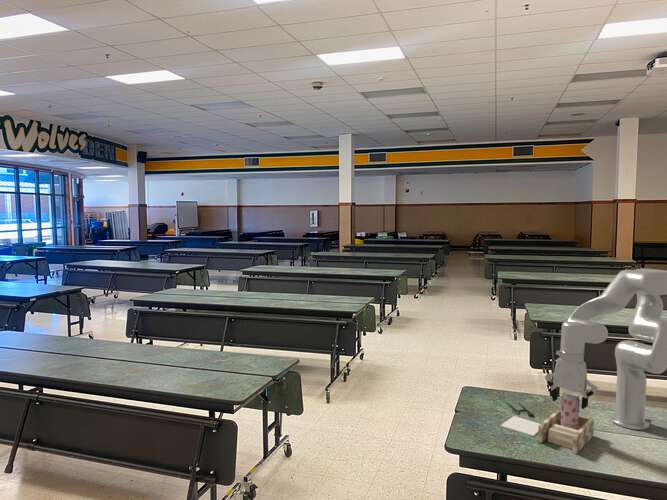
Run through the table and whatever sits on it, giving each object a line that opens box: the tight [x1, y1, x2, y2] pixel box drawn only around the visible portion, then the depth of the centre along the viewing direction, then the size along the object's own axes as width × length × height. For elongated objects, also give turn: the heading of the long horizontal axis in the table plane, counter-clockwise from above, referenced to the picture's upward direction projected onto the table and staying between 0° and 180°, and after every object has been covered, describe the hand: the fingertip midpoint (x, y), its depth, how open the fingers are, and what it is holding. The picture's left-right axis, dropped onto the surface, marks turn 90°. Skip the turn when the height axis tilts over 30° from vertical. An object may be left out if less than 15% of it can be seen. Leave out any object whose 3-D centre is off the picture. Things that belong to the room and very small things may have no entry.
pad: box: [500, 415, 541, 438], centre depth 176 cm, size 12×12×1 cm
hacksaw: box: [506, 401, 535, 418], centre depth 197 cm, size 24×10×2 cm, turn 0°
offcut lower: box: [547, 435, 573, 450], centre depth 164 cm, size 6×8×2 cm
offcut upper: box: [549, 424, 578, 443], centre depth 164 cm, size 6×8×2 cm
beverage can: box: [560, 392, 580, 430], centre depth 168 cm, size 6×6×15 cm
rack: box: [537, 409, 595, 455], centre depth 166 cm, size 19×12×6 cm, turn 136°
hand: (569, 404), depth 168 cm, fingers open, 9 cm apart
